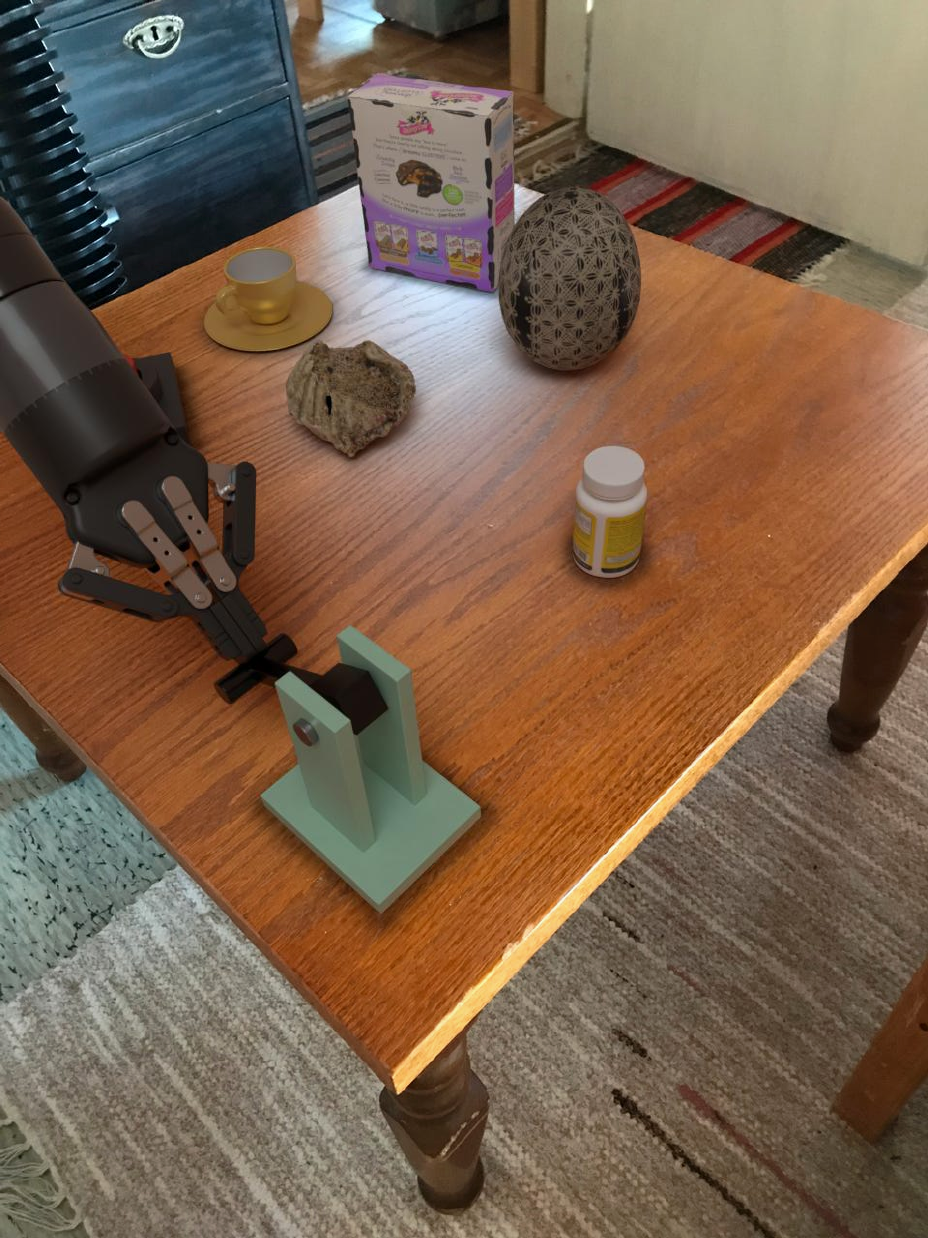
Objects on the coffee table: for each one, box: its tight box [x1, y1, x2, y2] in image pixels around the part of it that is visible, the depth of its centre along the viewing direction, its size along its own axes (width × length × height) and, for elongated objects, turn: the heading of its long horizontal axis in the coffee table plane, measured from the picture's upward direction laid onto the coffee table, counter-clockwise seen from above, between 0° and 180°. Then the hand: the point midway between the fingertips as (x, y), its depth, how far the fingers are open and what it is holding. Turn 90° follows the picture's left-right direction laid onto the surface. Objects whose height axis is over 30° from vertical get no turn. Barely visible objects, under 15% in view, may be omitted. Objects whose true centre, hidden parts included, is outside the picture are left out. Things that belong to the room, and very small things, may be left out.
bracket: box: [259, 624, 482, 915], centre depth 52 cm, size 10×8×13 cm
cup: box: [203, 246, 334, 352], centre depth 90 cm, size 12×12×5 cm
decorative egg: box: [497, 186, 642, 371], centre depth 80 cm, size 12×12×15 cm
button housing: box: [130, 351, 192, 447], centre depth 81 cm, size 11×9×4 cm
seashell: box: [285, 339, 417, 458], centre depth 79 cm, size 11×7×10 cm
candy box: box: [347, 72, 516, 293], centre depth 91 cm, size 14×6×16 cm, turn 65°
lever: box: [213, 632, 389, 736], centre depth 52 cm, size 12×5×2 cm, turn 47°
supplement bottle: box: [572, 445, 648, 579], centre depth 67 cm, size 5×5×8 cm
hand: (253, 655), depth 56 cm, fingers closed
